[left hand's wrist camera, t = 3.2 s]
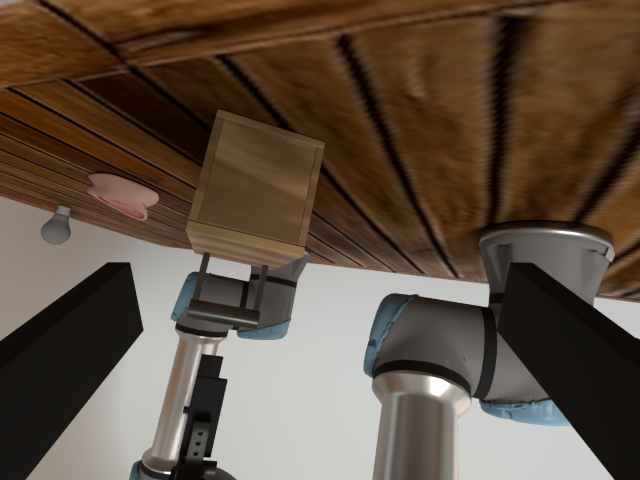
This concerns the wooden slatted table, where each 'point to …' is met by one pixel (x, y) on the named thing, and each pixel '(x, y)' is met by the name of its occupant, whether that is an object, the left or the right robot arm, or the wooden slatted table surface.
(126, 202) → the anatomical model
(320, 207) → the wooden slatted table surface
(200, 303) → the lid
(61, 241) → the light bulb
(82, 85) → the wooden slatted table surface
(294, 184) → the chest
